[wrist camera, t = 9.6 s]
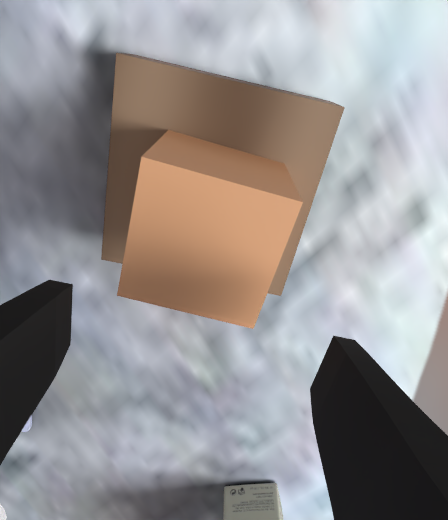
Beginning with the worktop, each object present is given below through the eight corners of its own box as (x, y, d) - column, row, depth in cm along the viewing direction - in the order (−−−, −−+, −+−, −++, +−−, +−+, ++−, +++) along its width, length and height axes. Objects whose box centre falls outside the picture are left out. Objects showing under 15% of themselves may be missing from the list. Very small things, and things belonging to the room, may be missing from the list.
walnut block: (118, 234, 21) (101, 259, 18) (135, 54, 17) (116, 52, 14) (275, 267, 22) (280, 295, 19) (328, 100, 18) (344, 107, 15)
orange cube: (146, 237, 18) (117, 295, 13) (168, 129, 16) (141, 156, 11) (248, 264, 18) (253, 328, 14) (284, 163, 16) (303, 202, 12)
